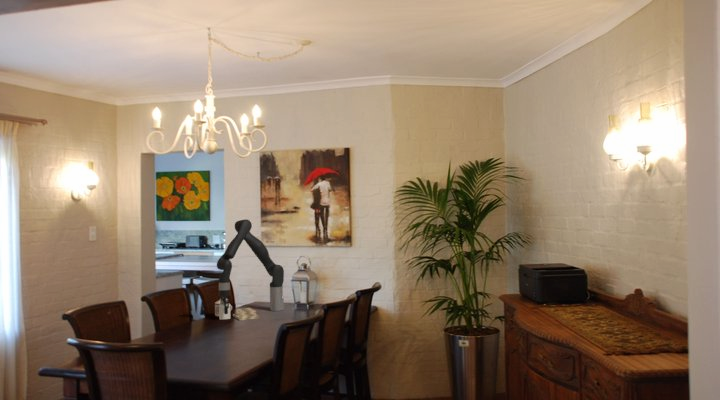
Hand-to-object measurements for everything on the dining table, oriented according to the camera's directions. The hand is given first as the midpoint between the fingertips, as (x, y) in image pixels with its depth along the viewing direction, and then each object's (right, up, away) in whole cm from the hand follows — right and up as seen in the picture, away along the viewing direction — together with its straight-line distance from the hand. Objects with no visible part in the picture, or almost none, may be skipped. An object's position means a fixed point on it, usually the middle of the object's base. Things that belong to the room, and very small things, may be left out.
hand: (224, 313), depth 381 cm
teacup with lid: (-4, -5, +13) cm, 15 cm away
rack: (+14, -4, +4) cm, 15 cm away
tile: (0, -4, 0) cm, 4 cm away
